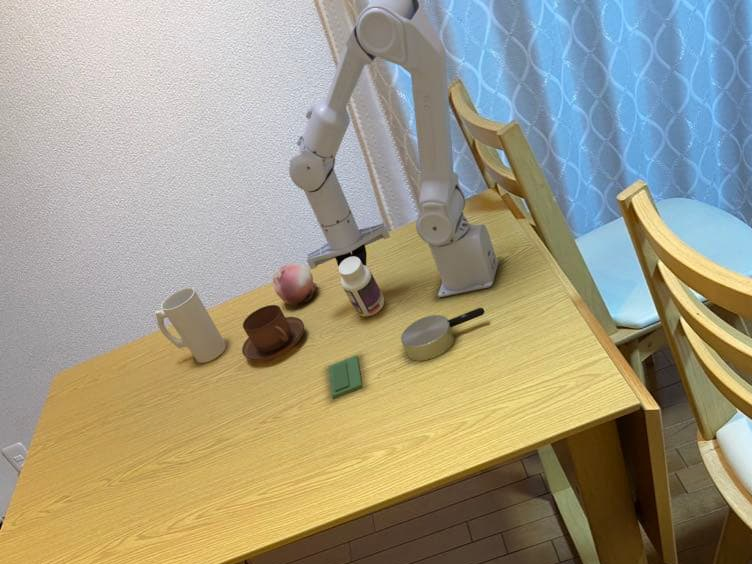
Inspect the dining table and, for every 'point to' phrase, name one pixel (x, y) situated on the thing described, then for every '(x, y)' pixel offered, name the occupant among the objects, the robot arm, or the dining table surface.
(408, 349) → the pan
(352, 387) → the green light switch
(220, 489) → the dining table surface
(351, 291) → the pill bottle
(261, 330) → the cup and saucer
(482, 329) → the dining table surface
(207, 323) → the mug
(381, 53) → the robot arm
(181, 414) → the dining table surface
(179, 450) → the dining table surface
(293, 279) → the onion
